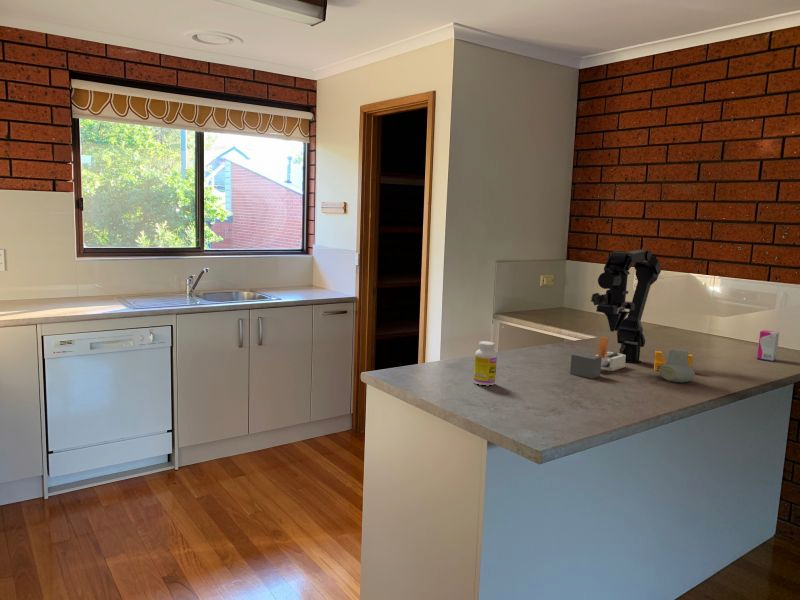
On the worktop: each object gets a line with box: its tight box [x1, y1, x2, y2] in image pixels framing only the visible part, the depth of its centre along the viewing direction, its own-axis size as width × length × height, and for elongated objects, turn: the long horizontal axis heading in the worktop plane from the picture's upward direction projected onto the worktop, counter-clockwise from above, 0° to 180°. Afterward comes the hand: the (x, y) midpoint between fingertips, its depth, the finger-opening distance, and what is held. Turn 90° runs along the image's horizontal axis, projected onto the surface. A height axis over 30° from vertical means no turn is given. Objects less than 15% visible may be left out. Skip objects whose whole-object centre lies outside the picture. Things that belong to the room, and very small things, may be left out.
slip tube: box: [597, 336, 619, 367], centre depth 221 cm, size 16×4×10 cm, turn 137°
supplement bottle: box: [473, 340, 498, 387], centre depth 193 cm, size 7×7×13 cm
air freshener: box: [658, 349, 696, 384], centre depth 209 cm, size 11×8×10 cm
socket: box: [569, 352, 602, 380], centre depth 211 cm, size 6×8×7 cm
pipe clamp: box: [653, 350, 693, 372], centre depth 223 cm, size 12×4×6 cm, turn 72°
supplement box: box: [756, 330, 780, 363], centre depth 251 cm, size 6×6×12 cm
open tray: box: [594, 351, 626, 372], centre depth 224 cm, size 10×7×4 cm, turn 137°
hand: (613, 331), depth 224 cm, fingers open, 3 cm apart
